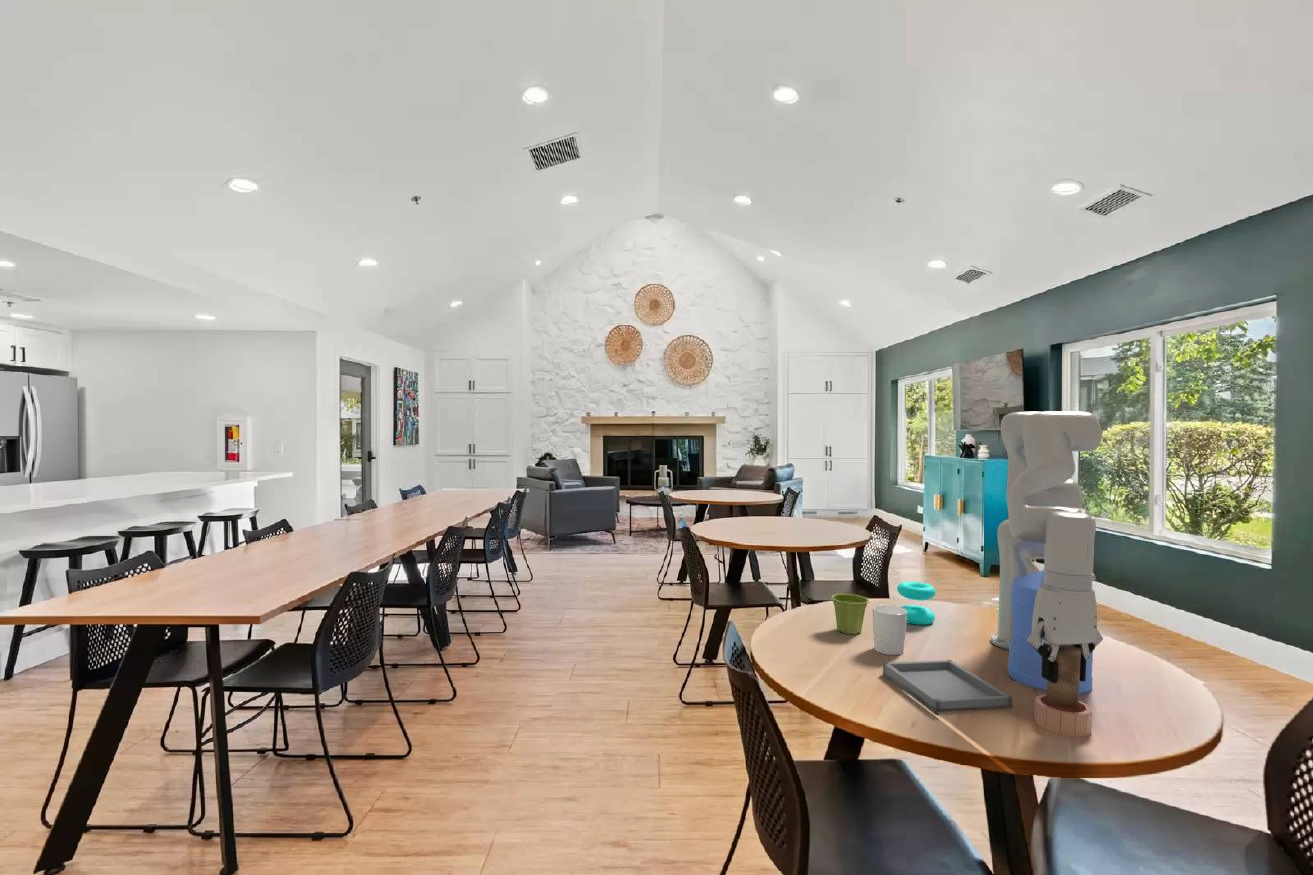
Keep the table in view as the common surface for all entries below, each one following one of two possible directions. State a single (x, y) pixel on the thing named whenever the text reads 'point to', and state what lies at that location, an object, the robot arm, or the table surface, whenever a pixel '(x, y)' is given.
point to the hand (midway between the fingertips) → (1063, 678)
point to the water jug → (1021, 654)
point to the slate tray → (945, 686)
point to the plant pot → (849, 612)
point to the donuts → (917, 592)
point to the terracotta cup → (1063, 717)
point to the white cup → (889, 629)
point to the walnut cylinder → (1066, 678)
